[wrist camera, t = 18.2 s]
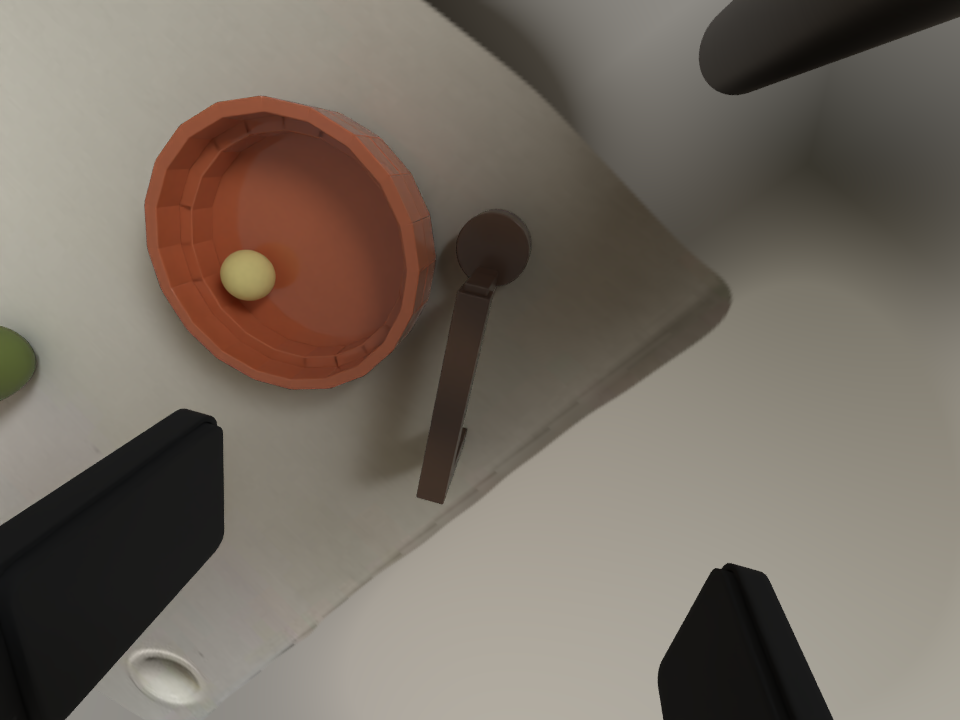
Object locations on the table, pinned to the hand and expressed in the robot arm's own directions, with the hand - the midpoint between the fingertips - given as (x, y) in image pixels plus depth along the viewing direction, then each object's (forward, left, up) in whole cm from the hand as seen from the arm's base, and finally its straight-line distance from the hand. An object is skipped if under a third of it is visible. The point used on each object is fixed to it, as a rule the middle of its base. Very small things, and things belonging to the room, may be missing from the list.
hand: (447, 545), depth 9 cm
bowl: (+13, +1, -22) cm, 25 cm away
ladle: (+2, +4, -22) cm, 22 cm away
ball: (+16, +3, -20) cm, 26 cm away
